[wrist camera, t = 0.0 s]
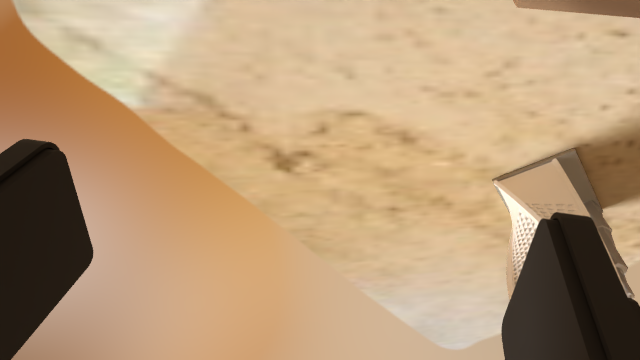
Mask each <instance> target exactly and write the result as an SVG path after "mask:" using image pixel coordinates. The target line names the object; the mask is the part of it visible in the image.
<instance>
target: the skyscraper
mask: <svg viewBox="0 0 640 360" xmlns="http://www.w3.org/2000/svg"><path fill="white" fill-rule="evenodd" d="M492 181H493V184H494V185H495V187H496V189H497V191H498V193H499V195H500V196H501V198H502V200H503V202H504V204H505V205H506V207H507V209H508V211H509V213H510V215H511V218H512V225H513V226H512V231H511V235H510V240H509V246H508V253H507V267H506V275H507V287H508V294H509V299H511V296H512V294H513V291H514V288H515V286H516V283H517V280H518V277H519V275H520V272H521V269H522V267H523V264H524V261H525V258H526V256H527V253H528V250H529V248H530V245H531V242H532V239H533V237H534V234H535V231H536V229H537V226H538V224H539V221H540V220H541V219H543V218H545V219H550V218H551V216H552V215H553V214H554V213H556V212H560V213H567V214H575V215H582V216H589V217H591V218H592V220H593V221H594V223H595V225H596V228H597V230H598V232H599V234H600V237H601V239H602V241H603V243H604V246H605V248H606V250H607V252H608V255H609V257H610V259H611V261H612V263H613V266H614V268H615V270H616V272H617V275H618V277H619V279H620V281H621V284H622V286H623V288H624V290H625V293H626V295H627V297H628V298H632V299H633V298H634V294H633V292H632V290H631V289H630V287H629V285H628V283H627V281H626V278H625V275H626V272H627V269H628V267H627V266H626V264H625V263H624V261H623V259H622V258H621V256H620V254H619V253H618V251H617V250H616V247H615V244H614V241H613V238H612V235H611V232H612V229H611V228H610V227H609V225H608V224H607V222H606V221H605V219H604V218H603V215H602V213H603V210H602V208H601V206H600V204H599V202H598V199H597V197H596V195H595V193H594V190H593V188H592V186H591V184H590V182H589V179H588V177H587V175H586V173H585V170H584V168H583V166H582V164H581V162H580V159H579V157H578V155H577V153H576V150H575V148H573V149H570V150H567V151H565V152H562V153H560V154H557V155H554V156H552V157H549V158H547V159H544V160H542V161H539V162H536V163H534V164H531V165H529V166H526V167H523V168H521V169H518V170H516V171H513V172H510V173H508V174H505V175H503V176H500V177H498V178H495V179H492Z"/></svg>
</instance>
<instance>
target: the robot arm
mask: <svg viewBox="0 0 640 360" xmlns="http://www.w3.org/2000/svg"><path fill="white" fill-rule="evenodd" d="M92 258H93V247H92V244H91V241H90V237H89V234H88V231H87V227H86V224H85V220H84V217H83V213H82V210H81V207H80V203H79V200H78V196H77V193H76V190H75V186H74V183H73V179H72V176H71V172H70V169H69V166H68V162H67V159H66V156H65V154H64V153H63V152H61V151H60V150H59V148H58V147H57V146H56V145H55V144H54V143H51V142H45V141H37V140H30V139H23V140H20V141H18V142H17V143H15V144H14V145H12V146H11V147H9V148H8V149H7V150H5V151H4V152H2V153H1V154H0V360H11V359H12V358H13V356H14V355H15V354H16V353H17V352H18V350H19V349H20V348H21V347H22V346H23V345H24V343H25V342H26V341H27V340H28V339H29V337H30V336H31V335H32V334H33V333H34V331H35V330H36V329H37V328H38V326H39V325H40V324H41V323H42V322H43V320H44V319H45V318H46V317H47V316H48V314H49V313H50V312H51V311H52V310H53V309H54V307H55V306H56V305H57V304H58V303H59V301H60V300H61V299H62V298H63V296H64V295H65V294H66V293H67V292H68V291H69V289H70V288H71V287H72V285H74V283H75V282H76V281H77V280H78V278H79V277H80V276H81V275H82V274H83V272H84V271H85V270H86V269H87V268H88V266H89V264H90V263H91V261H92ZM502 342H503V349H504V356H505V360H640V306H639V305H638V303H637V302H636V301H635V300H633V299H632V298H628V297H627V295H626V293H625V290H624V288H623V286H622V284H621V281H620V279H619V277H618V275H617V272H616V270H615V268H614V266H613V263H612V261H611V259H610V257H609V255H608V252H607V250H606V248H605V246H604V243H603V241H602V239H601V237H600V234H599V232H598V230H597V228H596V225H595V223H594V221H593V220H592V218H591V217H589V216H582V215H575V214H567V213H560V212H556V213H554V214H553V215H552V216H551V218H550V219H545V218H543V219H541V220H540V221H539V224H538V226H537V229H536V231H535V234H534V237H533V239H532V242H531V245H530V248H529V250H528V253H527V256H526V258H525V261H524V264H523V267H522V269H521V272H520V275H519V277H518V280H517V283H516V286H515V288H514V291H513V294H512V296H511V299H510V302H509V304H508V307H507V310H506V313H505V315H504V318H503V323H502Z"/></svg>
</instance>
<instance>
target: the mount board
mask: <svg viewBox="0 0 640 360" xmlns="http://www.w3.org/2000/svg"><path fill="white" fill-rule="evenodd" d="M513 1H514V3H515V5H516V6H517V7H518V8H530V9H541V10H553V11H565V12H576V13H588V14H600V15H611V16H623V17H634V18H640V0H513Z"/></svg>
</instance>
